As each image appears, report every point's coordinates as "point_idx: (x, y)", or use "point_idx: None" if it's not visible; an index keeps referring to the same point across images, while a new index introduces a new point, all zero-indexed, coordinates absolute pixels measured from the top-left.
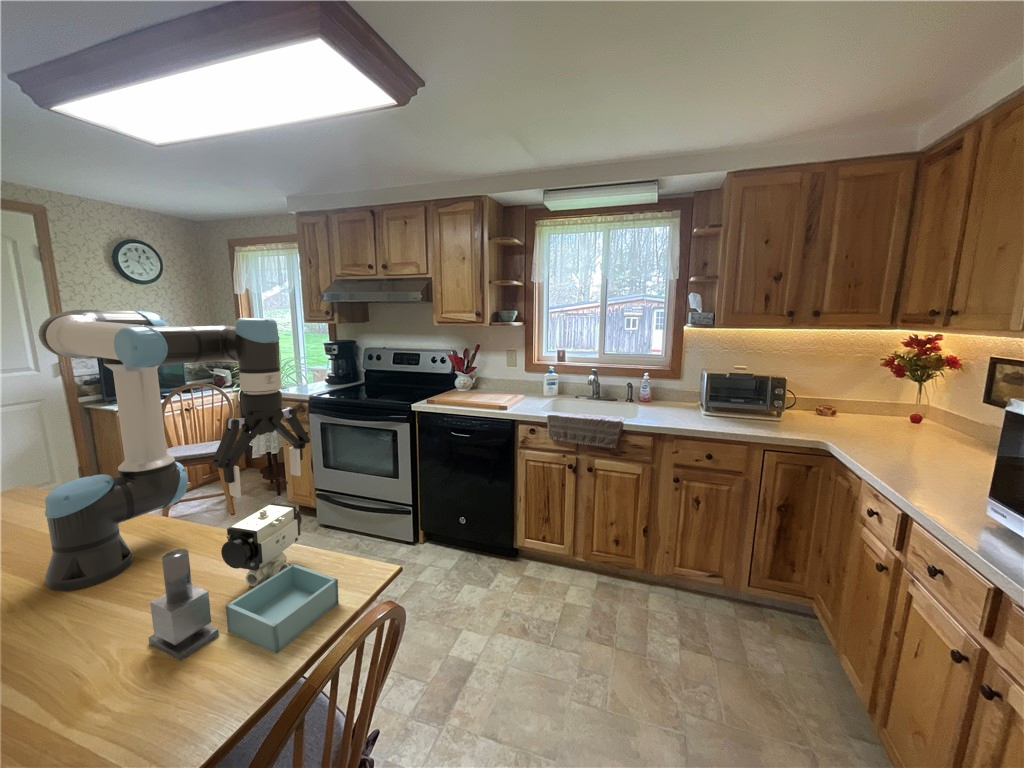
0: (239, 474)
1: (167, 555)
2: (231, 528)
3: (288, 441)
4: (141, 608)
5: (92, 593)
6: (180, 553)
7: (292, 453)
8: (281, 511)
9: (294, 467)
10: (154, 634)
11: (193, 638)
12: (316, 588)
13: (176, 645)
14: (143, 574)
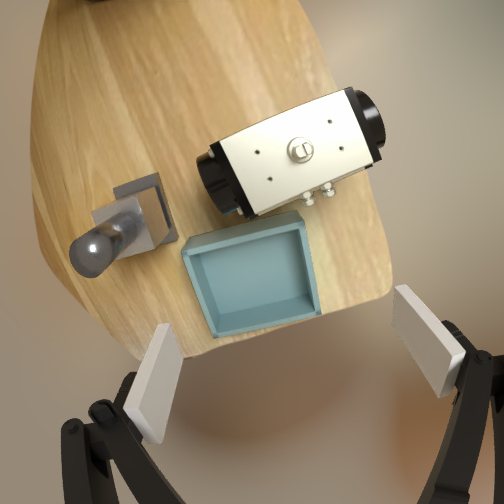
0: (167, 419)
1: (76, 249)
2: (217, 152)
3: (462, 393)
4: (124, 93)
5: (98, 18)
6: (93, 260)
7: (435, 358)
8: (345, 156)
9: (405, 328)
10: (118, 187)
11: None
12: (305, 270)
13: None
14: (151, 4)
